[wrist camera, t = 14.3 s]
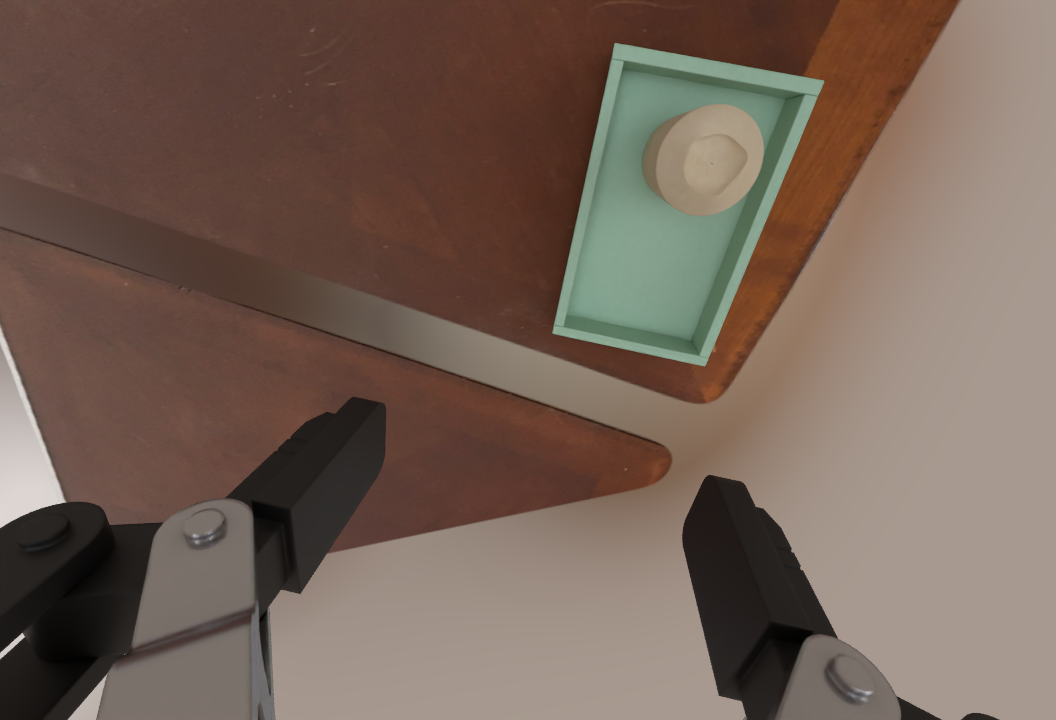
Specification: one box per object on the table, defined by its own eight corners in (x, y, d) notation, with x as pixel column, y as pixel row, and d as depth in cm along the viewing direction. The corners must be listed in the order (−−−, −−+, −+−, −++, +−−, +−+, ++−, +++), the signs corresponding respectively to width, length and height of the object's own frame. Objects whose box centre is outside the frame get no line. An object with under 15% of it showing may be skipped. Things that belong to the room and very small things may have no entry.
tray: (612, 53, 29) (615, 42, 26) (799, 87, 28) (825, 80, 25) (555, 318, 38) (551, 333, 35) (695, 348, 37) (705, 366, 34)
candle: (723, 108, 29) (780, 91, 20) (719, 194, 31) (768, 213, 22) (640, 121, 30) (659, 111, 21) (641, 203, 32) (659, 225, 23)
